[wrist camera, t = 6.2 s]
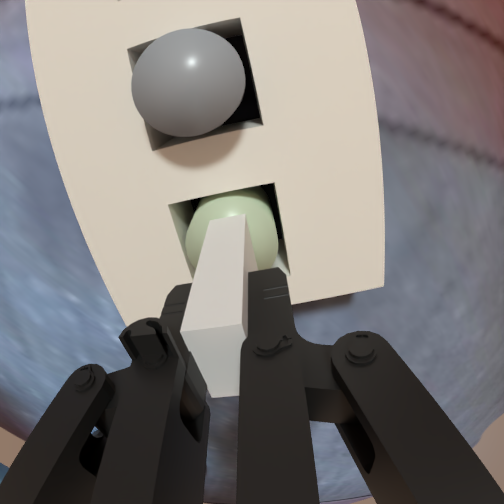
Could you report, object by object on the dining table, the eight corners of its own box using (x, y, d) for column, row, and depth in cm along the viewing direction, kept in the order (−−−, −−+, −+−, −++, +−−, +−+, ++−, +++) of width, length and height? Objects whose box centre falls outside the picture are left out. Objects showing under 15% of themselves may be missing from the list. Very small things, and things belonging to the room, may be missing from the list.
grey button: (253, 115, 14) (255, 122, 10) (170, 134, 14) (146, 149, 11) (236, 36, 12) (231, 16, 8) (152, 58, 12) (121, 48, 9)
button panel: (361, 249, 19) (383, 286, 15) (145, 287, 20) (127, 327, 17) (295, -96, 9) (306, -130, 5) (59, -31, 10) (23, -46, 6)
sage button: (277, 238, 18) (284, 277, 14) (208, 251, 18) (199, 291, 15) (264, 170, 16) (269, 194, 13) (190, 185, 16) (173, 213, 13)
